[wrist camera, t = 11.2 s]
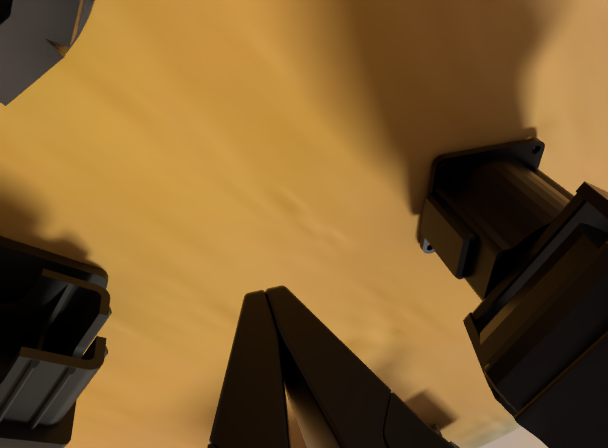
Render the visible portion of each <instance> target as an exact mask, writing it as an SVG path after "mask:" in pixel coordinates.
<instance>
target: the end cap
mask: <svg viewBox="0 0 608 448" xmlns="http://www.w3.org/2000/svg"><path fill="white" fill-rule="evenodd" d="M107 283H108V275H107V273H106V272H105V271H104V270H102V269H100V268H97V267H94V266H91V265H87V264H84V263H81V262H78V261H75V260H72V259H69V258H66V257H63V256H60V255H57V254H54V253H50V252H47V251H44V250H41V249H38V248H35V247H32V246H29V245H26V244H23V243H20V242H16V241H13V240H10V239H7V238H4V237H1V236H0V448H64V447H65V446H66V445H67V444H68V443H69V441H70V440H71V435H72V428H73V420H74V413H75V406H76V399H77V398H78V397H79V395H80V394H81V393H82V391H83V390H84V389H85V387H86V386H87V385H88V383H89V382H90V380H91V379H92V378H93V376H94V375H95V374H96V372H97V371H98V370H99V368H100V367H101V366H102V364H103V362H104V358H105V356H106V355H107V354H108V349H107V347H106V338H103V337H99V336H97V337H96V338H95V339H94V337H95V336H96V335H97V333H98V332H99V330H100V329H101V327H102V326H103V325H104V323H105V322H106V320H107V319H108V317H109V316H110V315H111V313H112V312H111V309H110V307H109V304H110V295H109V293H108V291H107V290H106V287H107ZM93 339H94V341H93V342H92V340H93ZM91 342H92V344H91V345H90V346H89V344H90V343H91ZM88 346H89V348H88V349H87V347H88ZM86 349H87V351H86V352H85V350H86ZM84 352H85V353H84ZM83 353H84V355H83Z"/></svg>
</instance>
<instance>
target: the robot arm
mask: <svg viewBox="0 0 608 448" xmlns="http://www.w3.org/2000/svg"><path fill="white" fill-rule="evenodd" d="M534 147H535V148H534ZM544 147H545V145H544V143H543V142H542V141H540V140H539V139H537V138H533V139H527V140H522V141H516V142H510V143H505V144H499V145H494V146H488V147H483V148H477V149H472V150H466V151H461V152H455V153H450V154H444V155H440V156H438V157H437V158H435V160H434V161H433V163H432V168H431V174H430V181H429V188H428V194H427V196H426V198H425V203H424V210H423V217H422V223H421V230H420V232H421V240H420V247H421V249H422V250H423V251H424V253H433V252H436V253H437V254H438V256H439V257H440V258H441V260H442V261H443V262H444V263H445V265H446V266H447V267H448V269H449V270H450V271H451V273H452V274H453V275H454V276H455V277H456V278H458V279H463V278H465V280H466V281H467V282H468V284H469V285H470V286H471V287H472V289H473V290H474V291H475V292H476V294H477V295H478V296H479V297H480V299H481V300H482V302H481V303H480V305H479V306H478V307H477V308H476V309H475V310H474V311H473V313H469V314H468V315H467V317H466V318H465V319H464V320H463V322H464V324H465V327H466V330H467V332H468V335H469V337H470V340H471V342H472V345H473V347H474V350H475V353H476V355H477V358H478V360H479V363H480V365H481V368H482V370H483V373H484V376H485V378H486V381H487V383H488V385H489V387H490V389H491V391H492V393H493V395H494V397H495V399H496V400H497V401H498V402H499V403H501V404H502V406H503V407H504V408H505V409H506V410H507V411H508V412H509V413H510V414H511V415H512V416H513V417H514V419H515V421H516V422H517V423H518V424H519V425H521V426H522V427H524V428H525V429H526V430H528V431H529V432H530V433H532V434H533V435H534V436H536V437H537V438H539V439H540V440H541V441H542V442H543V443H544V444H545V445H546V446H547V447H548V448H608V192H606V191H604V190H602V189H600V188H598V187H596V186H594V185H591V184H589V183H587V182H585V181H584V182H583V184H582V185H581V186H580V187H579V188H578V189H577V190H576V192H577V194H576V195H575V196H573V195H572V194H571V193H569V192H568V191H567V190H565V189H564V188H563V187H561V186H560V185H559V184H557V183H556V182H555V181H553V180H552V179H551V178H549V177H548V176H547V175H545V174H544V173H543V172H541V171H540V170H539V169H538V167H539V164H540V161H541V157H542V154H543V151H544ZM533 148H534V149H533ZM443 163H445V164H444V165H443V166H442V167H440V166H441V165H442V164H443ZM429 244H430V245H429ZM428 245H429V246H428ZM285 389H286V393H287V396H288V399H289V401H290V404H291V407H292V410H293V412H294V415H295V418H296V420H297V423H298V426H299V428H300V431H301V434H302V436H303V439H304V442H305V444H306V447H307V448H455V447H454V446H453V445H452V444H450V443H449V442H448V441H447V440H446V439H444V438H443V437H442V436H441V435H440V434H438V433H437V432H436V431H435V430H433V429H432V428H431V427H430V426H429V425H428V424H427V423H425V422H424V421H423V420H422V419H421V418H420V417H419V416H418V415H417V414H416V413H415V412H414V411H412V410H411V409H410V408H409V407H408V406H407V405H406V404H405V403H404V402H403V401H402V400H401V399H400V398H399V397H398V396H397V395H396V394H395V393H391V390H390V388H388V387H387V386H386V385H385V384H384V383H383V382H382V381H381V380H380V379H379V378H378V377H377V376H376V375H375V374H374V373H373V372H372V371H371V370H370V369H369V368H368V367H367V366H366V365H365V364H364V363H363V362H362V361H361V360H360V359H359V358H358V357H357V356H356V355H355V354H354V353H353V352H352V351H351V350H350V349H349V348H348V347H347V346H346V345H345V344H344V343H343V342H342V341H341V340H339V339H338V338H337V337H336V336H335V335H334V334H333V333H332V332H331V331H330V330H329V329H328V328H327V327H326V326H325V325H324V324H323V323H322V322H321V321H320V320H319V319H318V318H317V317H316V316H315V315H314V314H313V313H312V312H311V311H310V310H309V309H308V308H307V307H306V306H305V305H304V304H303V303H302V302H301V301H300V300H299V299H298V298H297V297H296V296H295V295H294V294H293V293H292V292H290V291H289V290H288V289H287V288H286V287H285V286H277V287H273V288H268V289H267V290H266V291H265V292H264V291H263V290H259V291H255V292H250V293H247V294H246V295H245V296H244V300H243V304H242V308H241V312H240V316H239V320H238V324H237V328H236V333H235V337H234V341H233V345H232V349H231V353H230V357H229V361H228V366H227V370H226V374H225V378H224V382H223V386H222V390H221V394H220V398H219V403H218V407H217V411H216V415H215V419H214V423H213V427H212V431H211V436H210V440H209V441H210V444H208V447H207V448H291V440H290V430H289V421H288V412H287V403H286V394H285Z"/></svg>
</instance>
